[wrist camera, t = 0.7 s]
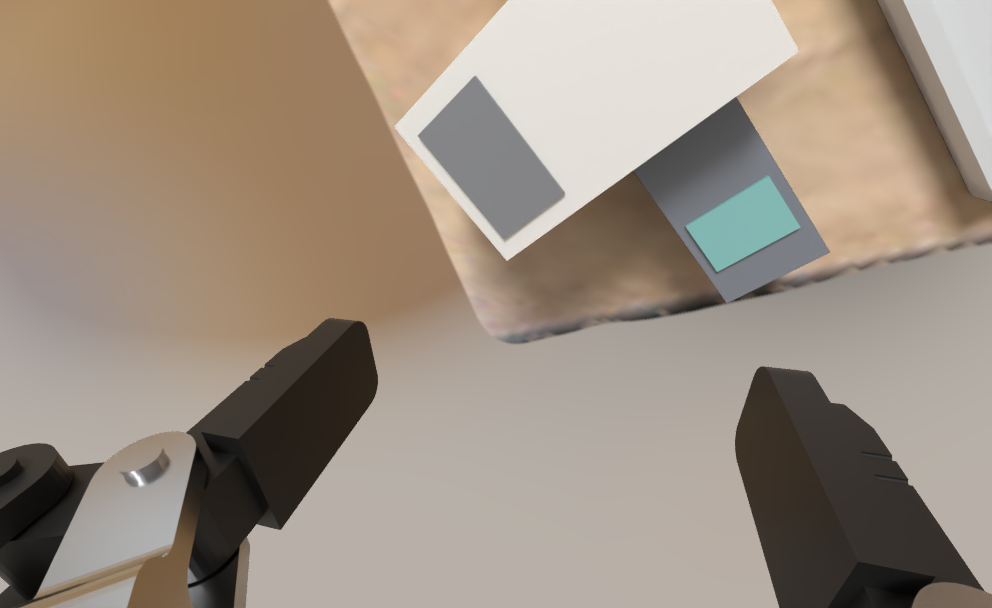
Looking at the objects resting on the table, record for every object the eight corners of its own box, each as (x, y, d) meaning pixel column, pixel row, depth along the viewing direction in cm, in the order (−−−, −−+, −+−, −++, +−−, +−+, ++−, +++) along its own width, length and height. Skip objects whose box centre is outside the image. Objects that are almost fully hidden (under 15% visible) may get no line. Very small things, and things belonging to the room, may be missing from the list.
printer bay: (652, -94, 20) (672, -186, 13) (737, 53, 22) (801, 50, 15) (457, 107, 27) (392, 127, 19) (536, 207, 29) (505, 262, 21)
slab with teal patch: (668, 20, 22) (684, 9, 17) (788, 213, 26) (832, 254, 20) (589, 90, 25) (581, 98, 20) (706, 258, 28) (727, 305, 23)
